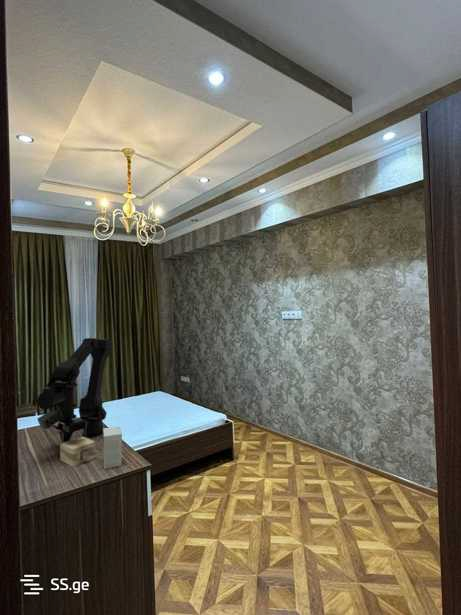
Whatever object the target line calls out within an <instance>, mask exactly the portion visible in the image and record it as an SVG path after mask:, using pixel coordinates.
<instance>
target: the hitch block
mask: <svg viewBox="0 0 461 615" xmlns="http://www.w3.org/2000/svg"><path fill="white" fill-rule="evenodd" d="M70 440H71V439H70ZM96 444H97V442H96V441H95V440H92V439H91V438H89V437H87V436H80V437H76V438H74V440H71V441H68V442H64V443H62V442H61V443H59V445H60V446H59V448H60V449H59V450H60V451H59V456H60V457H59V458H60V459H59V461H61V462H63V463H65V464H66V465H69V466H71V467H75V466H78V465H81V464H83V463H85V462H88V461H90V460H93V459H95V458H97V456H96V452H97V451H96V450H97V449H96ZM86 449H87V450H89V451H90V457H89V458H87V459H84V460H82V459H80V452H81V451H84V450H86Z"/></svg>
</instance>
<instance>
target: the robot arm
mask: <svg viewBox="0 0 461 615" xmlns="http://www.w3.org/2000/svg"><path fill="white" fill-rule="evenodd" d="M112 349H113V343H112V342H111V340H110V339H108V338H106V339H105V338H103V339H102V338H96V337H95V338H94V337H86V338H84V339H82V342H81V344H80V345H79V347H77V349H76V350H75V351H74V352H73V354H72V355H70V357H69V358H68V359H67V360H66V361H62V362H61V363H59V364H58V365H57V366H56V367H54V369H53V371H52V373H51V375H50V378H49V380H48V383H47V385H46V387H43V389H42V392H41V393H40V394H39V395H38V398H37V401H36V403H37V405H38V407H39V408H40V409H41V410H45V411H46V410H50V409H52V410H50V411H48V412H46V413H44V414H43V415H41V416H40V417H38V418H37V419H36V420H37V422H38V424H39V427H40V428H43V429H44V430H48V429H49V428H51V427H52V428H53V429H54V430H56V431H57V432H58V435H59V439H60V441H61V443H62V442H65V441H68V440H71V439H72V438H71V437H72V435H73V434H74V432H77V431H81V430H83V431H82V433H81V435H82V436H84V437H86V438H89V439H91V438H94V437H97V436H100V435H103V421H104V420H105V419H106V417H107V411H106V410H105V408H104V407H103V404H104V403H103V402H104V401H103V398H102V397H101V389H102V388H101V387H102V383H103V374H104V368H105V362H106V360H107V359H108V358H109V356H110V354H111V351H112ZM90 355H91V358H92V362H91V368H90V374H89V380H88V386H87V392H86V394H85V396H84V397H82V398H81V399H80V401H79V406H78V413H79V417H80V418H78V417H77V414H75V407H77V405H78V404H77V403H76V402H75V387H76V388H77V386H78V383H77V382H75V381H77V378H78V376H80V373H81V371H80V369H81V366H82V365H83V364H84V363H85V361H86V359H88V357H89V356H90Z"/></svg>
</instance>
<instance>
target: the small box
mask: <svg viewBox="0 0 461 615" xmlns="http://www.w3.org/2000/svg"><path fill="white" fill-rule="evenodd" d="M102 431H103V434H102V464H103V470H108V469H112V467H113V468H117V467H116V466H119V467H121V465H123V464H122V463H123V462H122V461H123V458H122V456H123V434H122V430H121V426H119V425H118V426H112V427H104V428H103V427H102ZM107 468H108V469H107Z"/></svg>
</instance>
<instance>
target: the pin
mask: <svg viewBox="0 0 461 615" xmlns="http://www.w3.org/2000/svg"><path fill="white" fill-rule="evenodd" d="M74 439H75V438H74ZM74 439H72V438H70V440H68V441H71V440H74ZM68 441H65V442H68ZM61 443H64V442H62V441H61ZM89 457H90V451H89V450H87V449H86V450H84V451H81V452H80V459H82V460H84V459H87V458H89Z"/></svg>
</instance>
